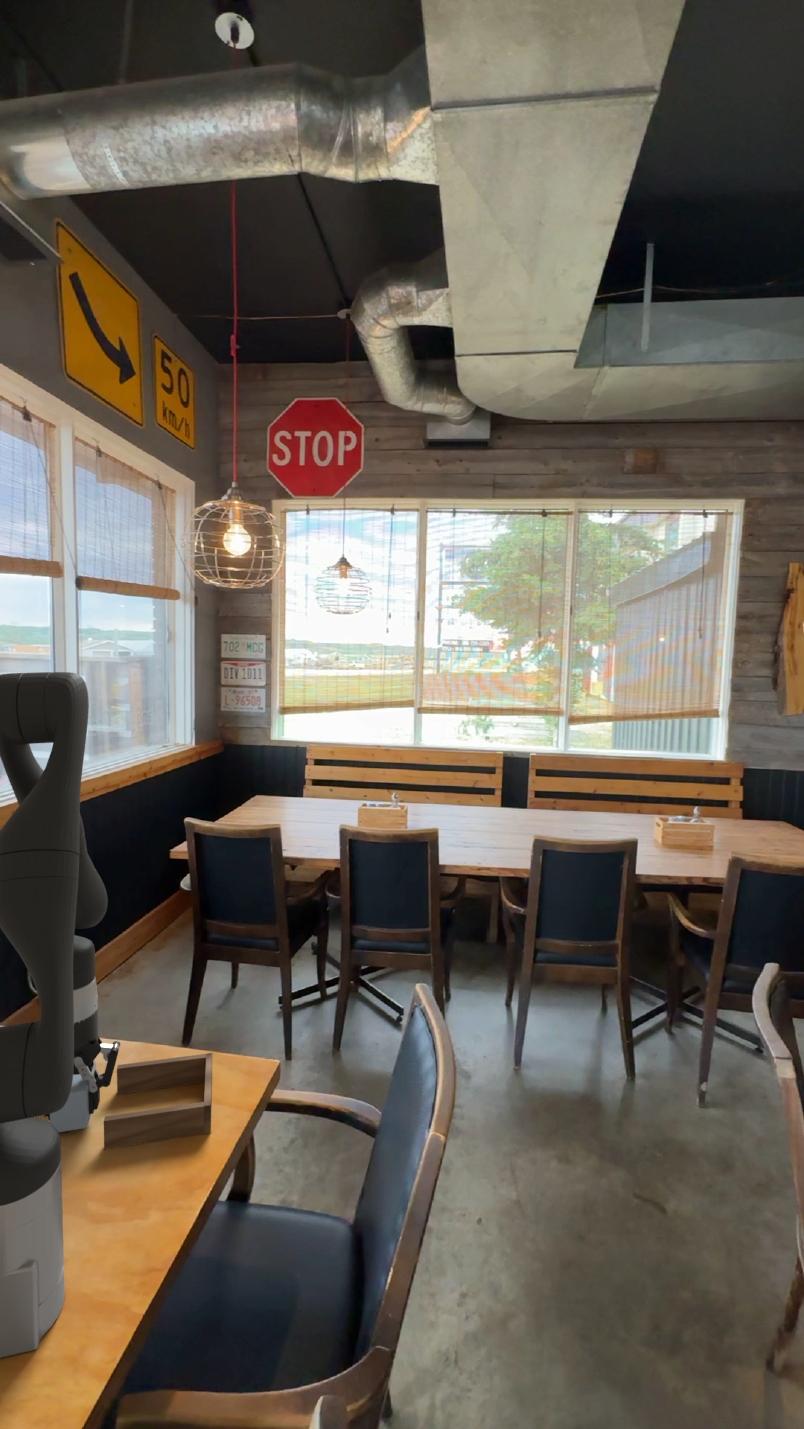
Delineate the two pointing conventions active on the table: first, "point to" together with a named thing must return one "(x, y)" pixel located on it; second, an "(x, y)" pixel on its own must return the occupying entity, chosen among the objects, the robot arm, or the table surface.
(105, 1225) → the table surface
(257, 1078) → the table surface
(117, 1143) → the brown three-sided frame
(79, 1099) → the slate block
